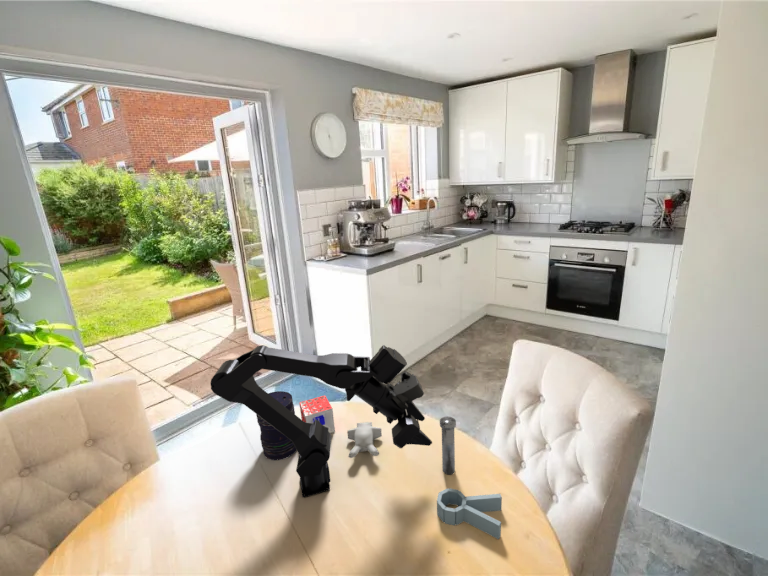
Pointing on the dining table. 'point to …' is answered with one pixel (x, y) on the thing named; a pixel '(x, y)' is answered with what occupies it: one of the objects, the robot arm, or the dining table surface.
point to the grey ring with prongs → (470, 510)
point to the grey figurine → (364, 438)
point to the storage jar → (276, 432)
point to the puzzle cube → (318, 412)
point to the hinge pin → (448, 444)
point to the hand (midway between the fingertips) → (427, 431)
